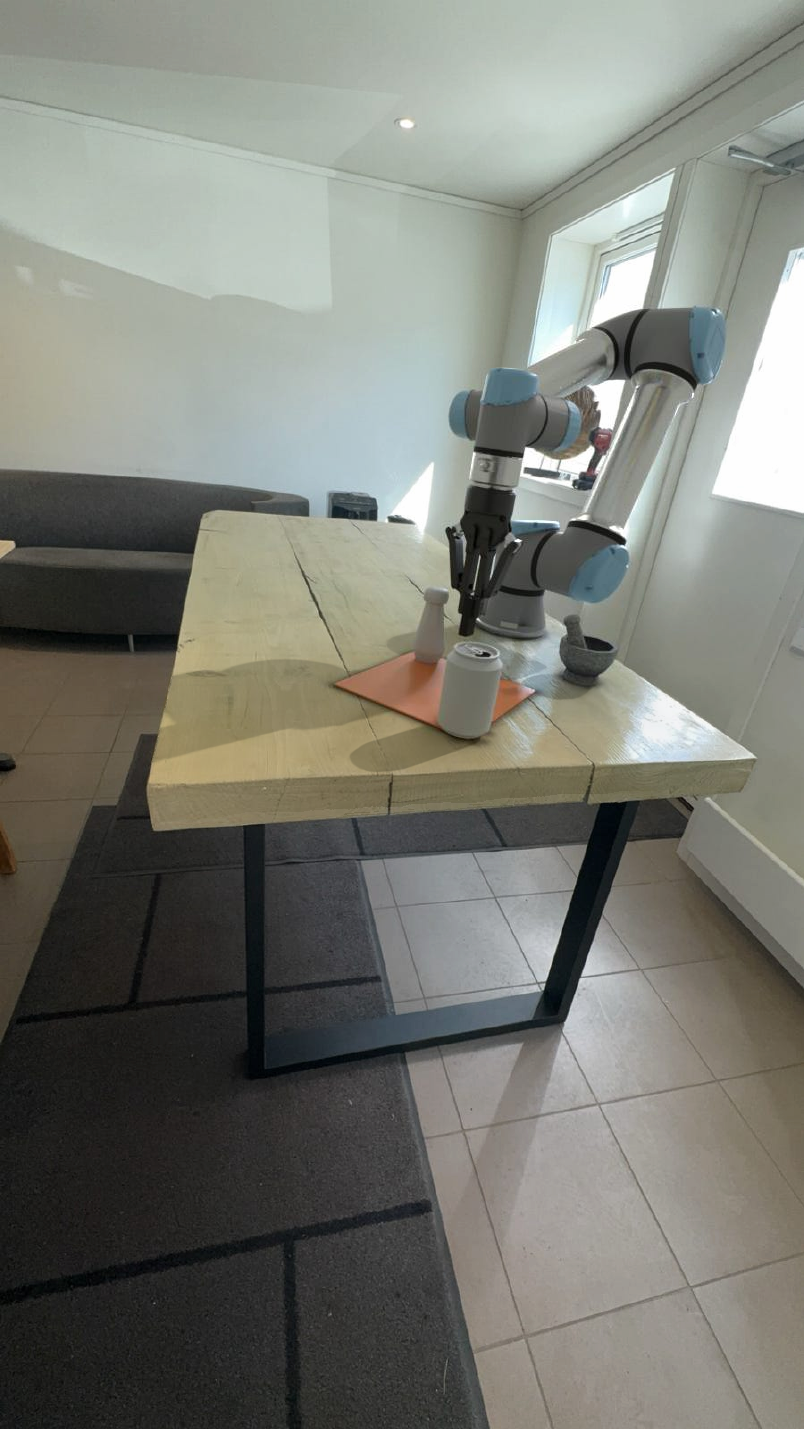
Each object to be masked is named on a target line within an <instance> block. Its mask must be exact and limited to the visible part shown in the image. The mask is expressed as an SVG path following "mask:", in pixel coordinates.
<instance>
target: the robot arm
mask: <svg viewBox="0 0 804 1429" xmlns="http://www.w3.org/2000/svg"><path fill="white" fill-rule="evenodd" d="M726 326H727V325H726V320H725V317H724V314H723V313H722V311H721V309H719V308H717V307H715V306H699V305H694V306H693V307H692V306H691V307H669V308H666V307H665V308H664V307H663V308H639V309H634V310H629V311H626V312H624V313H621V314H618V315H616V316H614V317H611V318H609V319H607V320H605V321H603V322H600V323H598V324H596V325H594V326H592V327H591V328H588V329H586V330H584V331H582V333H580V334H579V335H578V336H577V337H576V338H575V340H574V342H573V343H572V344H570V345H568V346H566V347H564V348H562V349H560V350H559V351H556V352H555V353H552V354H550V355H548V356H547V357H545V358H543V359H541V360H539V361H537V362H535V363H533V364H532V365H530V366H527V367H525V368H523V369H520V368H515V367H514V368H512V367H494V368H491V369H490V370H489V371H488V372H487V374H486V376H485V381H484V386H483V388H482V389H481V390H476V389H469V390H468V389H467V390H461V391H460V392H457V393H456V394H455V396H454V397H453V398H452V400H451V402H450V404H449V408H448V415H447V417H448V424H449V428H450V430H451V432H452V433H453V435H454V436H456V437H457V438H461V439H465V440H469V441H470V442H474V446H473V452H472V457H471V464H470V470H469V475H468V479H469V481H470V482H471V484H469V485H468V486H467V487H466V493H465V498H464V504H463V508H464V509H463V510H464V512H463V514H462V516H461V517H460V520H459V522H458V523H456V524H454V525H452V526H451V525H450V526H447V527H445V529H444V531H445V535H446V537H447V540H448V549H449V550H448V551H449V572H450V575H449V576H450V587H451V589H452V590H455V591H457V592H458V594H459V601H458V602H459V603H458V607H457V612H458V614H459V615H461V617H460V621H459V628H458V633H457V635H458V636H461V637H464V638H468V637H471V636H473V635H474V633H475V628H476V625H477V626H478V627H479V628H480V629H482V630H484V631H487V632H489V633H492V634H495V635H498V636H501V637H507V638H513V639H535V638H536V639H537V638H540V637H542V636H544V634H545V630H546V625H547V624H546V613H545V612H546V611H545V603H544V602H545V601H544V597H545V592H546V591H548V592H551V593H554V594H558V595H562V596H564V597H568V598H569V599H572V600H574V601H576V602H584V603H587V604H598V603H602V602H603V601H605V600H606V599H608V598H610V596H612V595H613V594H614V592H616V591H617V589H618V588H619V587H620V585H621V583H622V582H623V580H624V578H625V576H626V574H627V572H628V568H629V566H628V564H629V563H630V553H629V550H628V549H627V547H626V544H627V542H628V539H627V536H626V533H625V530H624V529H625V527H626V524H627V522H628V520H629V518H630V516H631V514H632V511H633V509H634V507H635V504H636V503H637V500H638V498H639V496H640V494H641V492H642V489H643V487H644V485H645V483H646V481H647V479H648V476H649V474H650V472H651V470H652V468H653V465H654V464H655V461H656V459H657V456H658V454H659V452H660V450H661V447H662V445H663V443H664V442H665V441H664V440H665V439H666V436H667V434H668V432H669V430H670V427H671V425H672V423H673V421H674V420H675V416H676V414H677V412H678V409H679V407H680V406H682V405H684V404H686V403H689V402H690V401H691V400H692V399H693V397H694V395H695V393H696V391H697V388H698V386H699V385H701V386H705V385H707V384H710V383H711V382H713V381H714V379H715V378H716V377H717V376H718V374H719V371H720V369H721V366H722V363H723V359H724V357H725V350H726V343H727V327H726ZM607 381H630V386H631V388H632V390H633V394H632V396H631V398H630V400H629V403H628V405H627V407H626V410H625V411H624V414H623V416H622V419H621V421H620V423H619V425H618V427H617V430H616V432H615V435H614V437H613V439H612V442H611V444H610V446H609V448H608V451H607V453H606V456H605V458H604V460H603V462H602V465H601V467H600V469H599V471H598V473H597V476H596V478H595V480H594V483H593V485H592V488H591V490H590V492H589V495H588V496H587V499H586V501H585V503H584V506H583V508H582V510H581V513H580V514H579V515H576V516H574V517H573V518H570V519H569V521H568V522H567V525H566V527H565V529H564V531H560V530H561V527H560V523H559V522H558V521H554V520H553V521H552V520H536V519H534V520H532V519H512V516H513V514H514V513H513V512H514V508H515V502H516V499H517V498H516V497H517V493H516V491H515V490H514V489H515V488H517V487H519V484H520V479H521V473H522V472H521V471H522V468H523V461H524V456H525V451H526V448H528V449H536V450H541V451H542V450H543V451H544V452H549V453H552V452H561V451H564V450H566V449H568V448H569V447H570V446H572V445H573V444H574V443H575V441H576V440H577V438H578V437H579V434H580V431H581V428H582V414H581V410H580V409H579V407H578V405H576V404H575V403H574V402H572V401H571V400H568V399H566V398H567V397H568V396H570V395H572V394H573V393H575V392H577V391H579V390H581V389H583V388H584V387H586V386H589V387H591V386H592V387H594V386H595V387H596V386H598V385H599V386H600V385H601V384H603V383H605V382H607ZM463 536H464V538H465V541H466V544H465V550H464V541H463V540H464V539H463ZM464 551H465V559H464Z"/></svg>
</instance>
